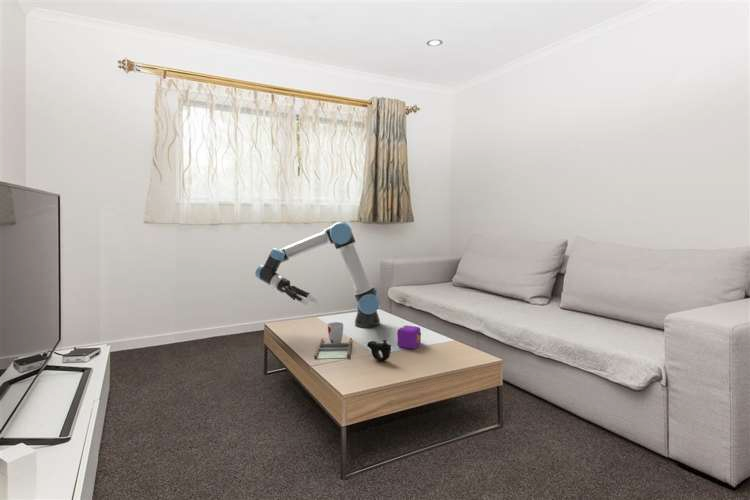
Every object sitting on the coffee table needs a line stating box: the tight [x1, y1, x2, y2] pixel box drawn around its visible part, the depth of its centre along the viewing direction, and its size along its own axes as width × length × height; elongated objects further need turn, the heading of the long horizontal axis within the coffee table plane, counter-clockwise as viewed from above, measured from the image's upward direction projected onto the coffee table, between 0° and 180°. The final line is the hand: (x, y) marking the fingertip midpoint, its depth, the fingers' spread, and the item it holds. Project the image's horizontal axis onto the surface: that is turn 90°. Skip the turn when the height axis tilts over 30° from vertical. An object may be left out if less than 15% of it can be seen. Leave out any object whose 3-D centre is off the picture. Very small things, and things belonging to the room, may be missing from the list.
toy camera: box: [396, 325, 422, 350], centre depth 210 cm, size 11×14×10 cm
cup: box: [327, 321, 344, 343], centre depth 216 cm, size 8×8×10 cm
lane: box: [313, 337, 353, 360], centre depth 206 cm, size 16×27×2 cm, turn 0°
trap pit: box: [320, 342, 349, 351], centre depth 207 cm, size 14×8×2 cm, turn 90°
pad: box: [316, 351, 348, 360], centre depth 198 cm, size 14×10×1 cm
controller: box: [366, 339, 392, 363], centre depth 189 cm, size 4×12×10 cm, turn 49°
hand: (312, 302), depth 222 cm, fingers open, 13 cm apart
